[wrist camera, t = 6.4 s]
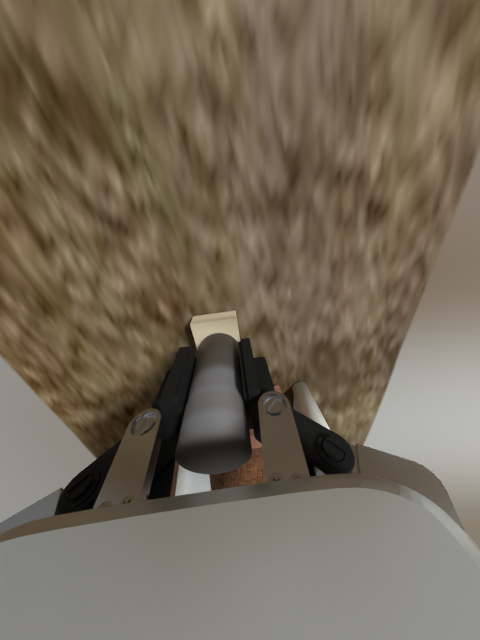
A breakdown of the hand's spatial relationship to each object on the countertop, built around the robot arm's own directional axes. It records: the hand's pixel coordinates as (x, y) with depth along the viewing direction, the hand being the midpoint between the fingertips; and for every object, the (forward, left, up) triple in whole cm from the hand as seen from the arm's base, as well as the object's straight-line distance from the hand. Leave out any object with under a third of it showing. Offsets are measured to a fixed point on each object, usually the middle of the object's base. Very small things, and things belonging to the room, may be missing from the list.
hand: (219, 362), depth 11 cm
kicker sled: (-2, -2, -2) cm, 3 cm away
